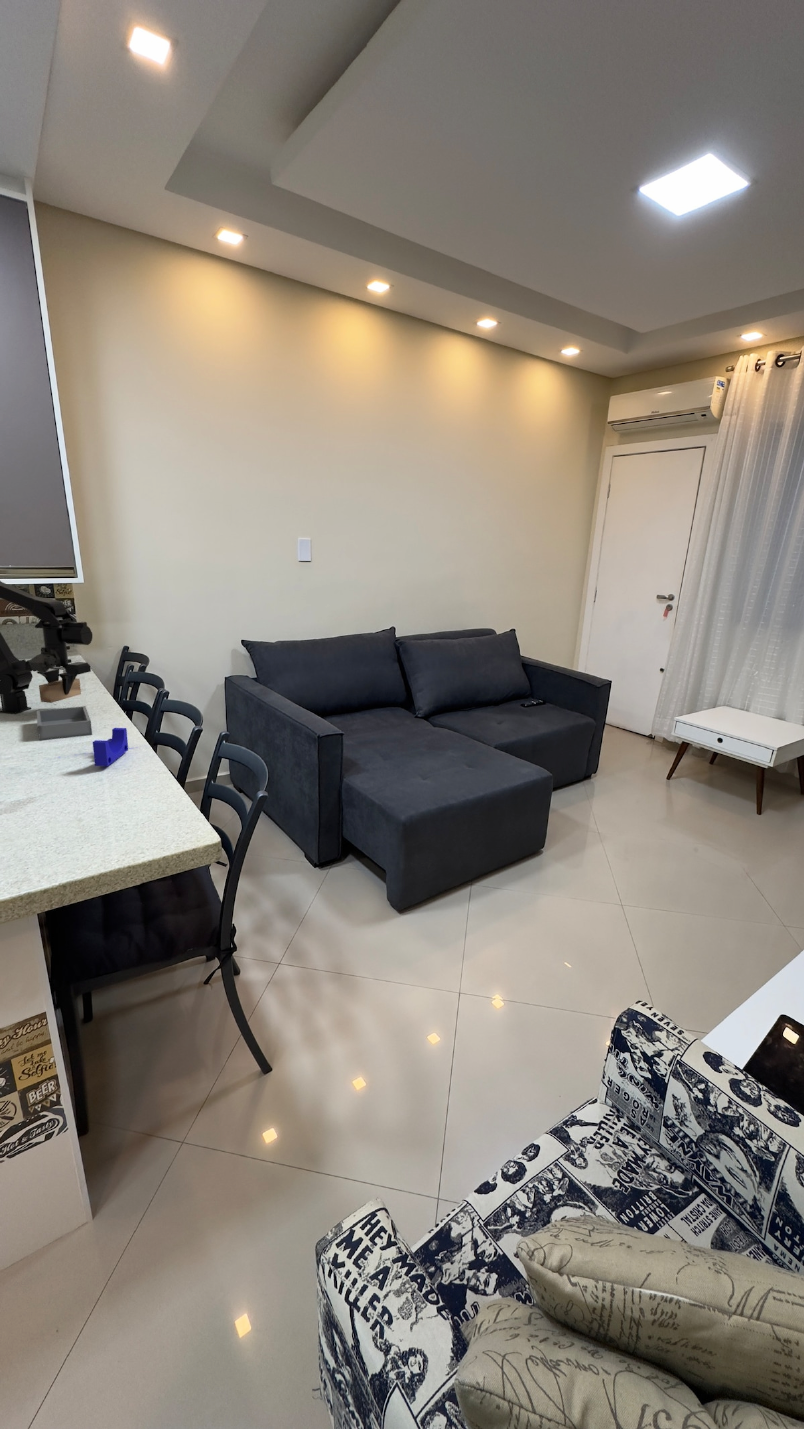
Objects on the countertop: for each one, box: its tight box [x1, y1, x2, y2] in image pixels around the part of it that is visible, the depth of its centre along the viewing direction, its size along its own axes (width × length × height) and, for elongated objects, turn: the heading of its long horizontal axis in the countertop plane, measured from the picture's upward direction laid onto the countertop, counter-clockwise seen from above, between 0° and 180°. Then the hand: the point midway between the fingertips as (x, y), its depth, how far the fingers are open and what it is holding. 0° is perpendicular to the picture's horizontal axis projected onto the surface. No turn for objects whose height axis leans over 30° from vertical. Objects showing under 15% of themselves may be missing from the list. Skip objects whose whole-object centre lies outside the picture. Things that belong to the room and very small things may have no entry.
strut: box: [38, 677, 82, 704], centre depth 179 cm, size 4×12×6 cm, turn 167°
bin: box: [36, 705, 93, 741], centre depth 167 cm, size 18×13×4 cm
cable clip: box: [92, 727, 129, 767], centre depth 146 cm, size 12×4×6 cm, turn 2°
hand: (61, 693), depth 180 cm, fingers closed on strut, 4 cm apart
